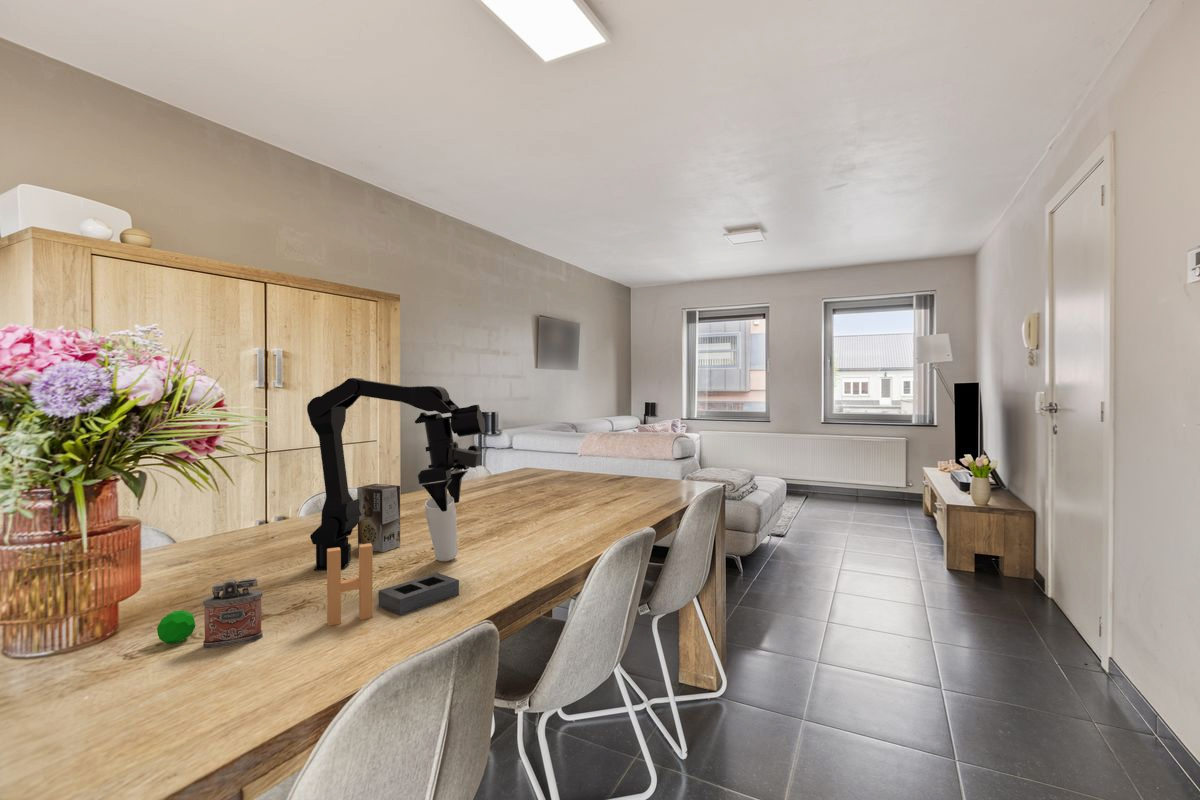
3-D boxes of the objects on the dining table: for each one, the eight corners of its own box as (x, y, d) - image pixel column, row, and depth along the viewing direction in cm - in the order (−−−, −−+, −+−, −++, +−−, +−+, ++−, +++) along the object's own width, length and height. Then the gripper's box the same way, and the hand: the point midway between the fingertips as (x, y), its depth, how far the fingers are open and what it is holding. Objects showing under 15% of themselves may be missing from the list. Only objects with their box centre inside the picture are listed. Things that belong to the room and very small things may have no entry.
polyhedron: (179, 648, 87) (179, 618, 87) (148, 648, 87) (148, 618, 87) (203, 634, 92) (202, 606, 92) (174, 634, 92) (173, 606, 92)
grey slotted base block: (400, 615, 100) (400, 599, 100) (378, 606, 104) (378, 590, 104) (458, 594, 110) (458, 579, 110) (436, 586, 115) (436, 572, 115)
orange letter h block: (328, 626, 95) (328, 551, 95) (327, 621, 97) (327, 548, 97) (372, 617, 99) (372, 545, 99) (370, 613, 101) (370, 543, 101)
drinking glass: (457, 564, 130) (449, 508, 125) (428, 564, 130) (420, 508, 125) (464, 547, 136) (457, 494, 132) (437, 548, 137) (429, 494, 132)
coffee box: (401, 546, 144) (401, 485, 144) (382, 553, 138) (382, 489, 138) (376, 542, 148) (376, 482, 148) (356, 548, 142) (356, 486, 142)
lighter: (201, 651, 86) (201, 587, 86) (205, 642, 89) (204, 581, 89) (261, 640, 90) (261, 579, 90) (263, 632, 93) (263, 573, 93)
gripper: (463, 438, 117) (474, 510, 117) (484, 431, 135) (494, 494, 136) (412, 446, 117) (423, 518, 117) (440, 438, 136) (450, 500, 136)
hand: (450, 506), depth 127 cm, fingers open, 9 cm apart
